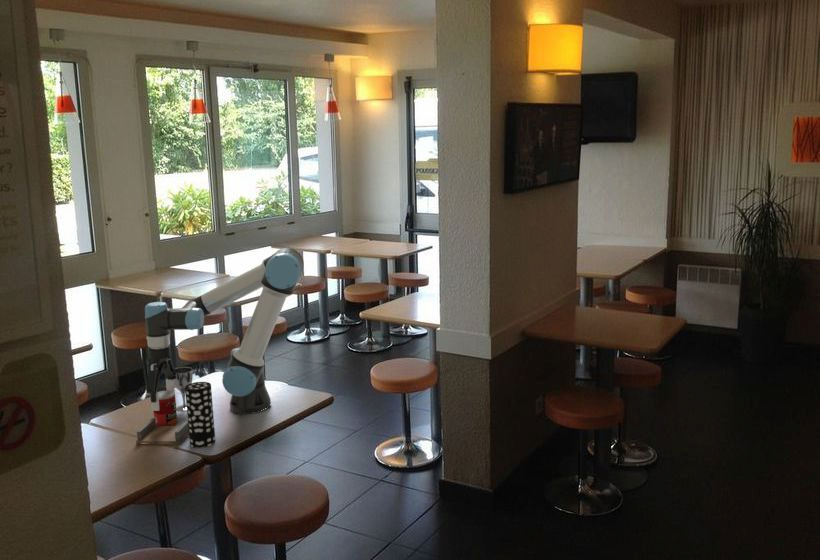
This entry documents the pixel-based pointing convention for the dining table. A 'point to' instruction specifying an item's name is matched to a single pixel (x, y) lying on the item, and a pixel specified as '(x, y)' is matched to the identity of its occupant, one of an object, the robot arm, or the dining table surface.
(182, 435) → the holder
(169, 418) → the canned food
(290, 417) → the dining table surface
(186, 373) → the wine glass
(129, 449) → the dining table surface
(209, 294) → the robot arm
